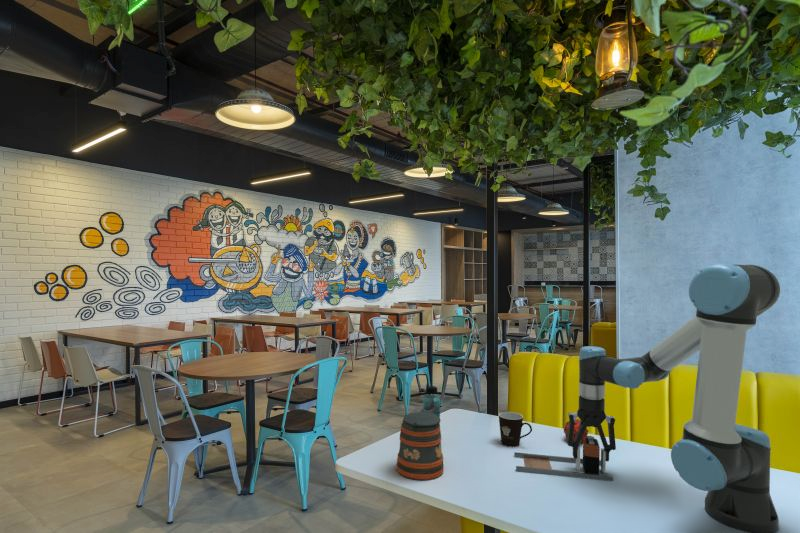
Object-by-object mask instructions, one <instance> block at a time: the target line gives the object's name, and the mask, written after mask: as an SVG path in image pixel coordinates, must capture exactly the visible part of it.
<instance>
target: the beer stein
mask: <svg viewBox="0 0 800 533" xmlns="http://www.w3.org/2000/svg"><path fill="white" fill-rule="evenodd" d="M438 409H439V406H434V398H430V399H429V400H428V402H427V406H425V407H424V408H423V407H422V408H421V410H420V411H415V412H410V413H408V414H405V415H404V416H403V419H402V422H401V424H400V433H399V441H400V442H399V451H398V453H397V458H396V467H395V468H396V472H398V474H400V475H401V476H403V477H404V478H407V479H410V480H417V481H425V480H427V481H429V480H433V479H436V478H439V477H441V476H442V475H443V473H444V470H445V468H444V455H443V453H442V452H443V450H442V439H443V438H442V433H441V431H442V430H441V418H439V417H438V416H437V415H435V412H436V411H437V410H438ZM439 423H440V424H439Z"/></svg>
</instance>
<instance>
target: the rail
mask: <svg viewBox="0 0 800 533" xmlns="http://www.w3.org/2000/svg"><path fill="white" fill-rule="evenodd" d="M513 453H514V454H513V455H514V458H519V457H520V459H522V458H523V462H524V466H520V465H516V466H515V471H516V472H520V473H530V474H540V475H541V474H542V475H549V476H550V475H551V476H559V477H560V476H562V477H570V478H579V477H580V478H581V479H588V478H589V479H591V480H601V481H609V482H613V481H614V476H613V475H611V474H601V473H599V474H592V473H584V472H582V471H581V472H580V471H570V470H561V469H552V465H551V462H562V463H571V464H576V458H574V457H568V456H557V455H547V454H537V453H528V452H527V453H524V452H513ZM550 461H551V462H550ZM580 464H582V465H583V458H580ZM599 466H601V459H600V460H599Z"/></svg>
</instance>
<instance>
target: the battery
mask: <svg viewBox="0 0 800 533" xmlns="http://www.w3.org/2000/svg"><path fill="white" fill-rule="evenodd" d="M600 447H601V446H600V444H599V440H598V439H596V438H595V437H594V436H592V435H587V438H583V442H582V459H583V464H582V469H583V473H592V474H600V465H599V460H601V448H600Z"/></svg>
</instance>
